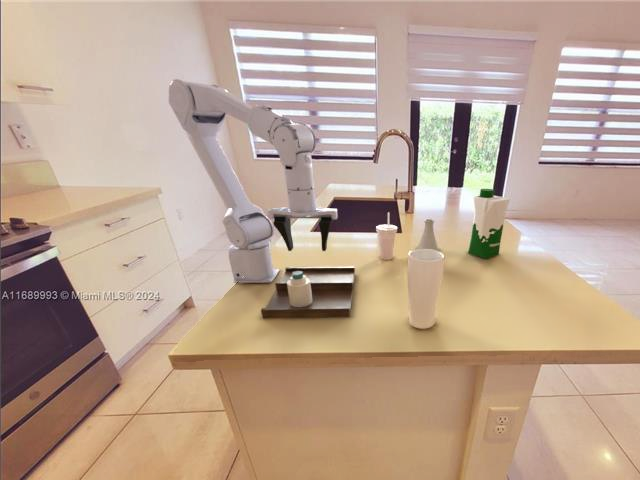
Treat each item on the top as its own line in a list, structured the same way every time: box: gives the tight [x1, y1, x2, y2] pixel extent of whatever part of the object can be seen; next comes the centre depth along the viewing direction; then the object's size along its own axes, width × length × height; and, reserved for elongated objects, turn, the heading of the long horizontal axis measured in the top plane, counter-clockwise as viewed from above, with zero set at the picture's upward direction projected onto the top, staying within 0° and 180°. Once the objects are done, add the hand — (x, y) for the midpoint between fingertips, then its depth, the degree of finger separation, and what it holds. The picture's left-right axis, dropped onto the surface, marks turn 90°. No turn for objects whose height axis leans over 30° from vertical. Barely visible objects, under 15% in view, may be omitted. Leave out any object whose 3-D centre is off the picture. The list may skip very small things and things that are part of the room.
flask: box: [416, 218, 439, 251], centre depth 103 cm, size 7×7×10 cm
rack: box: [260, 266, 356, 319], centre depth 74 cm, size 18×21×3 cm
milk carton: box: [467, 188, 510, 260], centre depth 98 cm, size 9×9×20 cm
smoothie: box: [375, 211, 398, 261], centre depth 95 cm, size 6×6×14 cm
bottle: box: [287, 271, 313, 307], centre depth 68 cm, size 5×5×7 cm
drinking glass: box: [406, 248, 445, 330], centre depth 61 cm, size 7×7×15 cm
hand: (307, 249), depth 72 cm, fingers open, 7 cm apart
